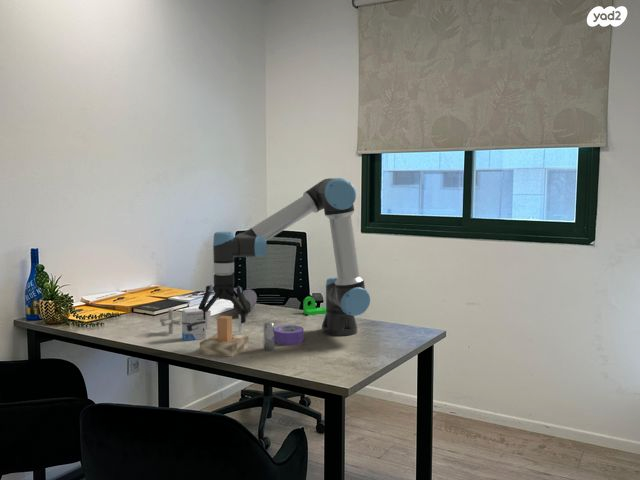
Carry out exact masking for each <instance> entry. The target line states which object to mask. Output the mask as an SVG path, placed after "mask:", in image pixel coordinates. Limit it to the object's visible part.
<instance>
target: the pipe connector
mask: <svg viewBox="0 0 640 480" xmlns="http://www.w3.org/2000/svg"><path fill="white" fill-rule="evenodd" d="M159 322H160V325H161V326H162V327H165V326H168V334H169V335H173V334H174V325H177V326H182V320H181V317H180V316H176V317H174V309H173V308H171V309H170V308H169V309H168V318H163V317H160V319H159Z"/></svg>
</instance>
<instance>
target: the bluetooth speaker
mask: <svg viewBox="0 0 640 480" xmlns="http://www.w3.org/2000/svg"><path fill="white" fill-rule="evenodd" d="M243 294H244V297H245V299H246V301H247V303H248V305H249V308H250V310H251V311H253V309H254V307H255V306H256V304H257V300H258V296H257V293H256V291H255V290H253V289H249V288H248V289H245V290H243ZM236 298H237V300H238V301H239V302H240V300H239V298H238V296H236ZM240 304H241V302H240ZM241 305H242V304H241ZM232 308H233V312H234V313H235V314H236V315H238V316H239V314H240V312H239V311H238V310H237V308H236V307H235V306H234V304H233V306H232ZM251 311H250V312H249V313H246V316H248V315H249V314H250V313H251Z"/></svg>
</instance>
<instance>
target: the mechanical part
mask: <svg viewBox="0 0 640 480" xmlns="http://www.w3.org/2000/svg"><path fill="white" fill-rule="evenodd" d="M309 302H310V304H309V305H308V303H309ZM302 303H303V304H302V306H303V310H302V311H303V314H304V315H306V314H307V315H306V316H308V315H312V316H317V315H316V314H322V315H325V314H326V306H324V307H323V306H322V307H316V299H315V298H314V297H312V296H306V297H305V298H304V299H303V301H302Z"/></svg>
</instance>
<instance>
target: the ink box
mask: <svg viewBox="0 0 640 480" xmlns="http://www.w3.org/2000/svg"><path fill="white" fill-rule="evenodd" d="M198 308H199V307H197V308H185V309H181V321H182V325H181V337H182V339H183V340H184V341H185V342H189V341H197V340H206V339H207V333H206V332H207V329H206V326H205V320H204V318H203V311H202V310H199V309H198Z"/></svg>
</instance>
